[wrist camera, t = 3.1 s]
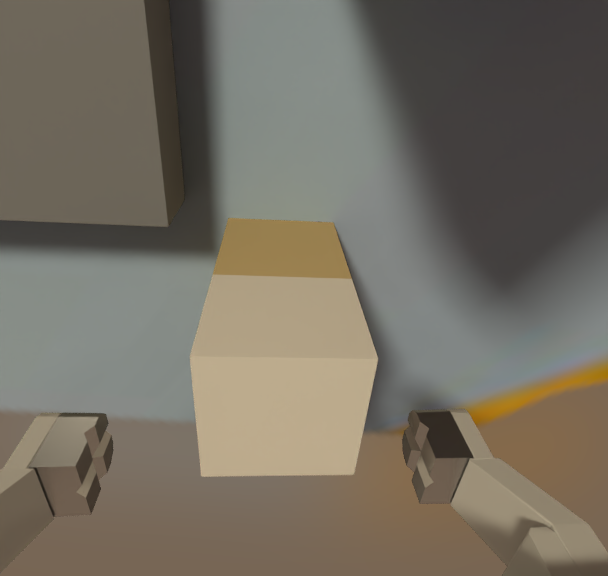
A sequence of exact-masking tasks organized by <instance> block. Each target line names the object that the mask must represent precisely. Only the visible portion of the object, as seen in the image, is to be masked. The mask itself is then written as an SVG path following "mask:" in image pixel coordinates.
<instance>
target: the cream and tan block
mask: <svg viewBox="0 0 608 576" xmlns="http://www.w3.org/2000/svg"><path fill="white" fill-rule="evenodd" d="M190 363H191V374H192V384H193V395H194V405H195V416H196V426H197V436H198V447H199V457H200V468H201V476H202V477H204V476H205V477H210V476H300V475H354V473H355V468H356V463H357V458H358V453H359V449H360V444H361V439H362V434H363V430H364V425H365V420H366V415H367V410H368V406H369V401H370V396H371V391H372V387H373V382H374V377H375V372H376V367H377V363H378V357H377V354H376V351H375V348H374V345H373V342H372V339H371V336H370V332H369V329H368V326H367V323H366V320H365V317H364V314H363V311H362V308H361V305H360V302H359V299H358V296H357V293H356V290H355V287H354V284H353V281H352V278H351V275H350V272H349V269H348V266H347V263H346V260H345V257H344V254H343V251H342V248H341V245H340V241H339V238H338V235H337V232H336V229H335V226H334V223H331V222H308V221H285V220H262V219H239V218H228V222H227V225H226V229H225V233H224V236H223V240H222V243H221V247H220V250H219V254H218V258H217V261H216V265H215V268H214V272H213V275H212V279H211V283H210V286H209V290H208V293H207V297H206V300H205V304H204V308H203V311H202V315H201V318H200V322H199V326H198V329H197V333H196V336H195V340H194V343H193V347H192V351H191V354H190Z"/></svg>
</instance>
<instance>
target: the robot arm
mask: <svg viewBox="0 0 608 576" xmlns="http://www.w3.org/2000/svg"><path fill="white" fill-rule="evenodd" d="M408 422H409V425H410V427H409V428H407V429H406V430H405V431H404V435H403V439H402V444H403V454H404V459H405V462H406V465H407V466H408V467H409V468H410V469H411V470H412V471H413V472H414V475H413V478H412V483H413V485H414V488H415V491H416V494H417V497H418V500H419V503H420V504H425V503H426V504H429V503H431V504H432V503H451V506H452V507H453V508H454V509H455V511H456V512H457V513H458V514H459V515H460V516H461V517H462V518H463V519H464V520H465V521H466V522H467V523H468V524H469V526H470V527H471V528H472V529H473V530H474V531H475V532H476V533H477V534H478V535H479V536H480V537H481V538H482V540H483V541H484V542H485V543H486V544H487V545H488V546H489V547H490V548H491V549H492V550H493V551H494V553H495V554H496V555H497V556H498V557H499V558H500V559H501V560H502V561H503V562H504V563H505V564H506V565H507V568H506V570H505V571H504V573H503V574H502V576H608V552H607V551H606V549H605V548H604V546H603V545H602V543H601V542H600V540H599V539H598V537H597V536H596V534H595V533H594V532H593V530H592V528H591V527H590V526H589V524H588V523H586V522H585V521H584V520H582V519H581V518H579V517H578V516H577V515H576V514H574V513H573V512H572V511H570V510H569V509H568V508H566V507H565V506H563V505H562V504H561V503H559V502H558V501H557V500H555V499H554V498H553V497H551V496H550V495H549V494H547V493H546V492H544V491H543V490H542V489H541V488H539V487H538V486H536V485H535V484H534V483H532V482H531V481H530V480H528V479H527V478H526V477H524V476H523V475H522V474H520V473H519V472H518V471H516V470H515V469H514V468H512V467H511V466H510V465H508V464H507V463H506V462H504V461H503V460H501V459H500V458H494V457H493V455H492V453H491V451H490V450H489V448H488V446H487V445H486V443H485V441H484V439H483V437H482V436H481V434H480V432H479V430H478V429H477V427H476V425H475V423H474V422H473V420H472V418H471V416H470V415H469V413H468V412H467V411H466V410H465V409H447V410H445V409H436V410H412V411H411V412H410V413H409V417H408ZM107 426H108V419H107V416H106V414H104V413H41V414H40V415H38V416H37V417H36V418H35V419H34V421H33V423H32V424H31V426H30V427H29V429H28V430H27V432H26V433H25V435H24V437H23V438H22V440H21V441H20V443H19V445H18V446H17V447H16V449H15V451H14V452H13V454H12V455H11V457H10V458H9V460H8V461H7V463H6V464H5V466H4V468H3V469H0V573H1V572H2V571H3V570H4V569H5V568H6V567H7V566H8V565H9V564H10V563H11V562H12V561H13V560H14V559H15V558H16V557H17V556H18V555H19V554H20V553H21V552H22V551H23V550H24V549H25V548H26V547H27V546H28V545H29V544H30V543H31V542H32V541H33V540H34V539H35V538H36V537H37V536H38V535H39V534H40V533H41V532H42V531H43V530H44V528H46V527H47V526H48V525H49V523H51V522H52V521H53V520H54V517H61V516H76V515H91V514H92V511H93V508H94V506H95V503H96V501H97V498H98V496H99V493H100V490H101V487H100V484H99V479H100V478H102V477H103V476H104V475H105V474H106V473H107V472H108V469H109V466H110V464H111V459H112V454H113V440H112V435H111V434H109V433H108V432H107V431H106V428H107Z"/></svg>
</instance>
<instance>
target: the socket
mask: <svg viewBox="0 0 608 576" xmlns="http://www.w3.org/2000/svg"><path fill="white" fill-rule="evenodd" d="M184 200H185V194H184V182H183V170H182V157H181V145H180V133H179V121H178V109H177V96H176V84H175V72H174V60H173V48H172V35H171V23H170V11H169V0H0V220H11V221H35V222H60V223H84V224H108V225H132V226H157V227H169V225H170V223H171V222H172V220H173V218H174V217H175V215H176V213H177V212H178V210H179V208H180V207H181V205H182V203H183V202H184Z"/></svg>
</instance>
